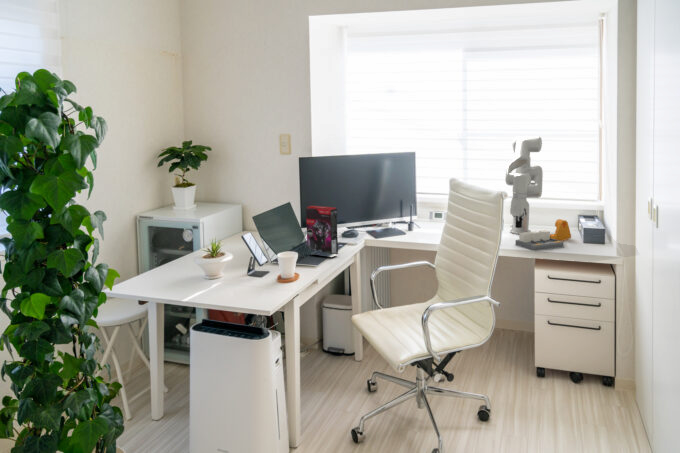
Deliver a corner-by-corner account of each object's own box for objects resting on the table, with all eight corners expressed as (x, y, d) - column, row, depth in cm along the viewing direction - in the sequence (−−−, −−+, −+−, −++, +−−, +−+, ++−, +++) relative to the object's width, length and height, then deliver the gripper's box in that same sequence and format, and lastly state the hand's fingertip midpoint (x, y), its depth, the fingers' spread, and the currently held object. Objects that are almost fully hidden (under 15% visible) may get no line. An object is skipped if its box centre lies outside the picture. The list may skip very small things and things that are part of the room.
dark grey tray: (515, 245, 357) (515, 239, 357) (544, 241, 365) (544, 236, 364) (533, 250, 343) (533, 245, 342) (563, 246, 350) (563, 241, 350)
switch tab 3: (537, 239, 361) (538, 230, 360) (544, 238, 362) (545, 230, 361) (542, 240, 357) (542, 232, 356) (549, 239, 359) (549, 231, 358)
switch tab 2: (528, 240, 358) (528, 232, 357) (535, 239, 360) (536, 231, 359) (533, 241, 355) (533, 233, 354) (540, 240, 356) (540, 232, 355)
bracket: (562, 237, 375) (563, 217, 373) (570, 239, 369) (571, 219, 366) (547, 238, 371) (548, 219, 369) (556, 241, 365) (556, 221, 362)
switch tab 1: (519, 241, 356) (519, 233, 355) (526, 240, 358) (526, 232, 357) (523, 243, 352) (524, 234, 351) (530, 242, 354) (531, 233, 353)
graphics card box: (306, 255, 344) (304, 207, 339) (313, 252, 350) (312, 205, 345) (331, 259, 335) (330, 209, 330) (339, 256, 340) (337, 207, 335)
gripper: (506, 194, 361) (505, 226, 364) (522, 197, 347) (521, 230, 350) (516, 194, 364) (515, 225, 367) (533, 196, 350) (532, 229, 353)
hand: (518, 227), depth 359 cm, fingers closed
